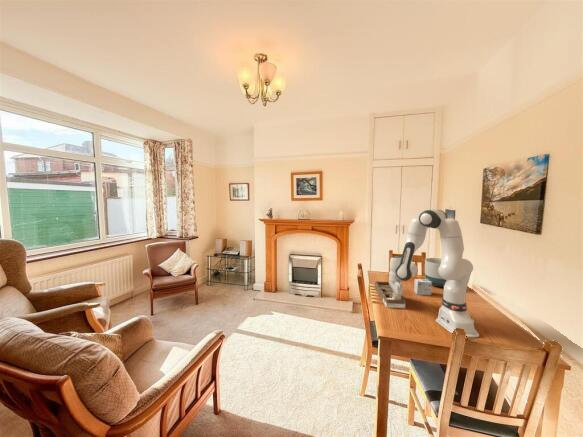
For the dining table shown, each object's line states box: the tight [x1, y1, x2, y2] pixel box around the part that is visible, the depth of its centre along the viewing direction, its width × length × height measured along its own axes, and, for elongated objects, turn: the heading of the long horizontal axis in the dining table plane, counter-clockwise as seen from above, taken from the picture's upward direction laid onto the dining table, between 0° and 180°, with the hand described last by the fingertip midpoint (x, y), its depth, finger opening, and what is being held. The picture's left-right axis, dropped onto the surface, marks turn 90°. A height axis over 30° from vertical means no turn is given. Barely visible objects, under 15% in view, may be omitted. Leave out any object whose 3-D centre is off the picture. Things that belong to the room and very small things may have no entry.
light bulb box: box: [413, 278, 433, 296], centre depth 184 cm, size 11×7×11 cm, turn 84°
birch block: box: [392, 293, 402, 300], centre depth 166 cm, size 5×4×4 cm
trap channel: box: [374, 280, 406, 309], centre depth 178 cm, size 35×12×6 cm, turn 173°
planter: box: [424, 257, 447, 288], centre depth 200 cm, size 20×20×21 cm
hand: (395, 296), depth 170 cm, fingers closed
